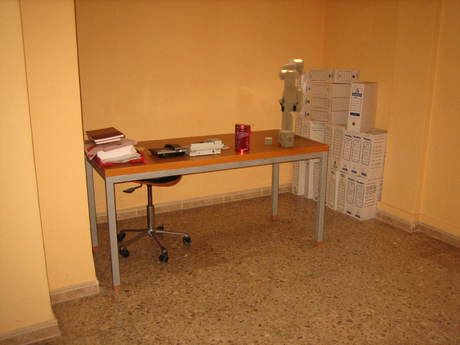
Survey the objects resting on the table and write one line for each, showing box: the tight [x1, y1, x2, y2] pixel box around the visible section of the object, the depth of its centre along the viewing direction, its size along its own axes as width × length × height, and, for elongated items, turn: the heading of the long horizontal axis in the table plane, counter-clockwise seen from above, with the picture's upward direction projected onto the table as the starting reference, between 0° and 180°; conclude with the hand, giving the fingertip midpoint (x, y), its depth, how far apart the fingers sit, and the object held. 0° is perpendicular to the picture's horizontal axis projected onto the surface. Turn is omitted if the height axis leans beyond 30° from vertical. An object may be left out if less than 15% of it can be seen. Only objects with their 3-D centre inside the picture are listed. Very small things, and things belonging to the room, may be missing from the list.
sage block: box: [264, 136, 273, 146], centre depth 342 cm, size 5×5×5 cm
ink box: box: [277, 130, 295, 149], centre depth 335 cm, size 9×9×12 cm
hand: (288, 111), depth 323 cm, fingers open, 9 cm apart
